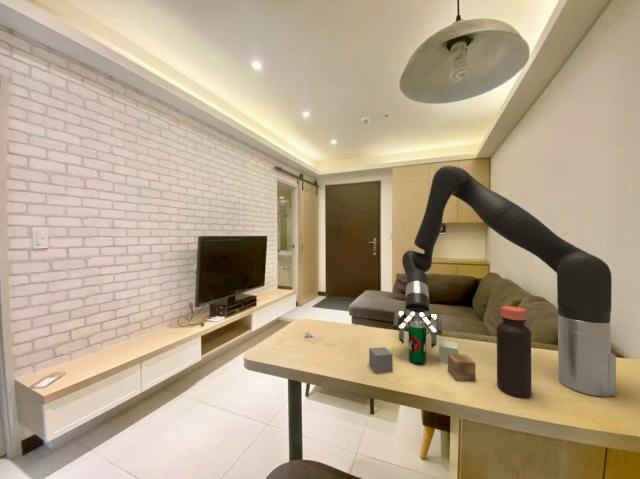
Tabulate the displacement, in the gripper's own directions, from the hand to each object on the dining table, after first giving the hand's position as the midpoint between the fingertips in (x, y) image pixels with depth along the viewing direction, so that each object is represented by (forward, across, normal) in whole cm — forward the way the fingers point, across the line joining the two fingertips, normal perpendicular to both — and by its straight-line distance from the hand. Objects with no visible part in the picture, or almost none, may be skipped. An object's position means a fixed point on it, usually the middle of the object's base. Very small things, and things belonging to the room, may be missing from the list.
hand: (417, 344), depth 77 cm
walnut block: (+7, +11, +2) cm, 13 cm away
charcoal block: (+9, -10, -1) cm, 13 cm away
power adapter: (-1, -38, +10) cm, 39 cm away
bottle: (+9, +22, -1) cm, 24 cm away
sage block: (0, +9, +8) cm, 12 cm away
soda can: (+3, 0, +5) cm, 6 cm away
